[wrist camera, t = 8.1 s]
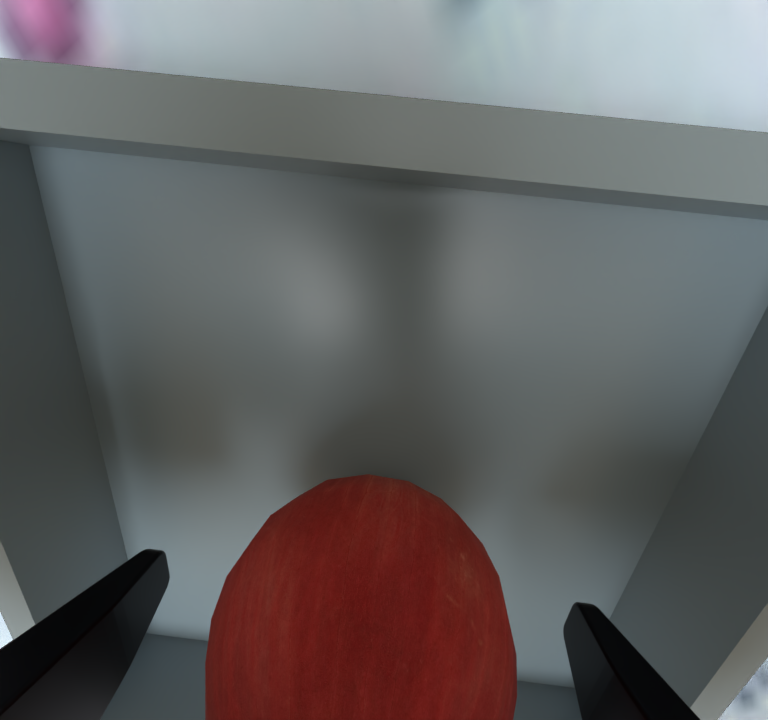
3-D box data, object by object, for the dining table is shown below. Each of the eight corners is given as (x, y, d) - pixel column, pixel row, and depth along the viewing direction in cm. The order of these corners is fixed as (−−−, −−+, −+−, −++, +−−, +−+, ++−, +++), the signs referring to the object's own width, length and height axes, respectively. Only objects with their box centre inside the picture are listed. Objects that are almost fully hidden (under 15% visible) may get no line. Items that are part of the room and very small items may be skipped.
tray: (819, 188, 8) (1160, 170, 4) (578, 672, 15) (633, 822, 11) (26, 109, 9) (-267, 31, 5) (145, 617, 15) (62, 746, 12)
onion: (512, 519, 11) (732, 1157, 4) (358, 588, 12) (290, 1138, 5) (402, 371, 9) (397, 996, 2) (240, 471, 11) (-114, 1038, 3)
